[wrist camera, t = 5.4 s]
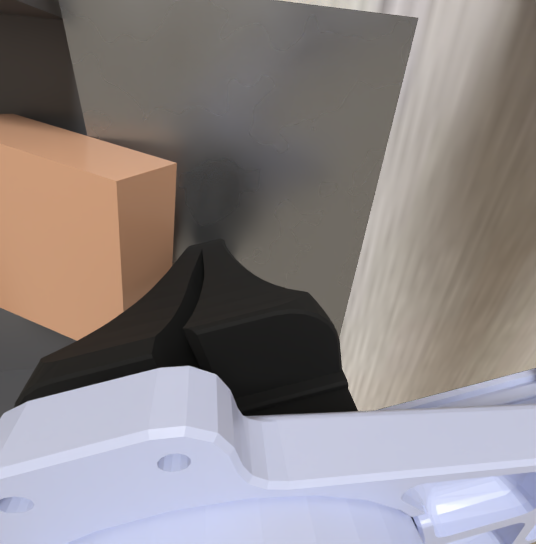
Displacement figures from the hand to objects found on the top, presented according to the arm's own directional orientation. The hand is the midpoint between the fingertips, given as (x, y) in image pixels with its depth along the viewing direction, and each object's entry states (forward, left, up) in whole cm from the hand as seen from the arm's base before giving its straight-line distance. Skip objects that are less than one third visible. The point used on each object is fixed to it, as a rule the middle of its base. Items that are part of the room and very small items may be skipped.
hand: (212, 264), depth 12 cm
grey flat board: (-1, 0, -3) cm, 3 cm away
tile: (+4, -1, -1) cm, 4 cm away
